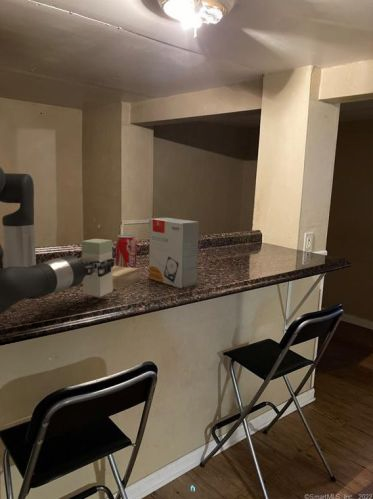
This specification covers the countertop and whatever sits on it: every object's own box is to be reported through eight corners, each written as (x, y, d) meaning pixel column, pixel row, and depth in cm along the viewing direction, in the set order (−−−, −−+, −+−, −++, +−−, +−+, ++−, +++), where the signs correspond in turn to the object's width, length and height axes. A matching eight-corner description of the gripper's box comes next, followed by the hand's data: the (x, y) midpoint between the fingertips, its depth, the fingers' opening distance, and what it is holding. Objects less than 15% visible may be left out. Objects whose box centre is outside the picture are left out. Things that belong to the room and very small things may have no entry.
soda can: (113, 271, 139) (113, 234, 136) (133, 269, 141) (133, 234, 139) (118, 275, 132) (118, 237, 130) (139, 274, 135) (139, 236, 133)
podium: (85, 285, 120) (84, 272, 119) (108, 276, 130) (107, 265, 130) (118, 289, 115) (117, 276, 114) (139, 280, 126) (139, 268, 125)
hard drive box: (148, 279, 128) (148, 218, 125) (165, 275, 133) (166, 217, 130) (180, 288, 117) (181, 222, 114) (198, 284, 122) (200, 220, 119)
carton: (83, 293, 103) (81, 241, 101) (96, 288, 108) (94, 238, 106) (100, 296, 101) (99, 243, 99) (112, 291, 106) (112, 240, 103)
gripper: (84, 261, 87) (125, 249, 102) (34, 255, 92) (81, 245, 108) (85, 294, 88) (126, 278, 103) (36, 286, 94) (82, 271, 109)
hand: (103, 261), depth 105 cm, fingers closed on carton, 5 cm apart
